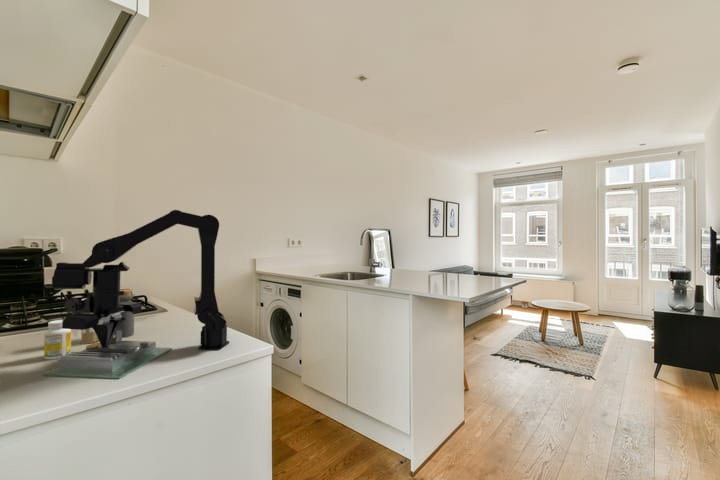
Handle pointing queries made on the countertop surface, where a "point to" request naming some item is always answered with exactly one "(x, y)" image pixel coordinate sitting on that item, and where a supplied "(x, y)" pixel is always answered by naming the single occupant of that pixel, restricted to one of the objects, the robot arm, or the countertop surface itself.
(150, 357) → the heatsink
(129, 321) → the bottle
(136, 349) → the grey and orange bar
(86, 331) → the sprinkles bottle
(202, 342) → the robot arm
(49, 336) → the supplement bottle
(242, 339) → the countertop surface
